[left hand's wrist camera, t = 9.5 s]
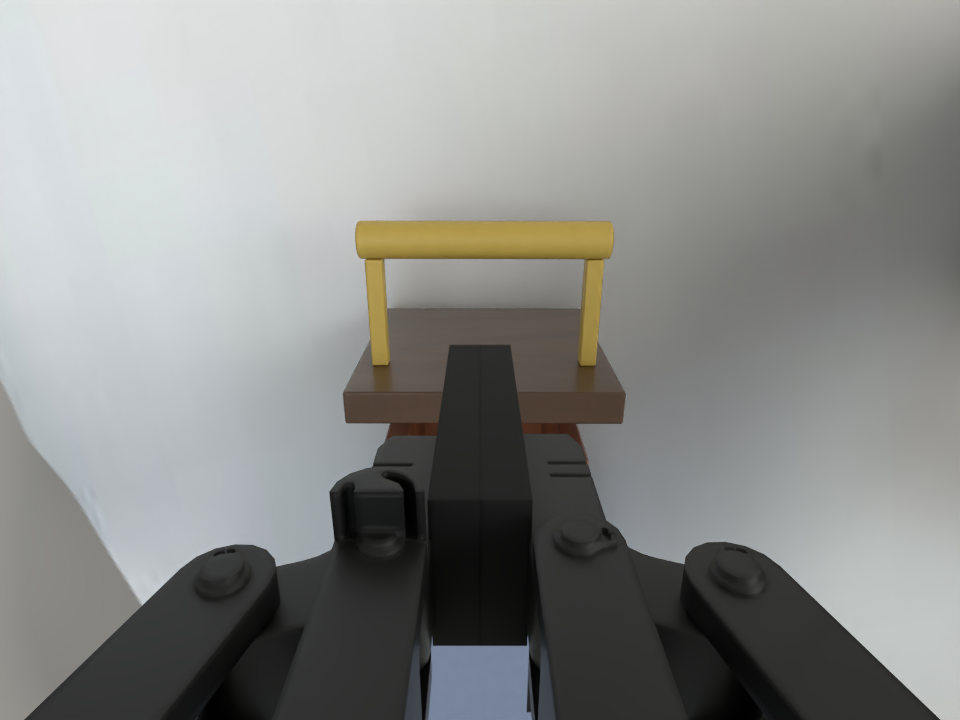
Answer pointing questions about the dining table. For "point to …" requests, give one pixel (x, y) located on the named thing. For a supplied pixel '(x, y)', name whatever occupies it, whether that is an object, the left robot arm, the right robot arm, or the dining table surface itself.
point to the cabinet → (479, 683)
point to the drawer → (485, 329)
